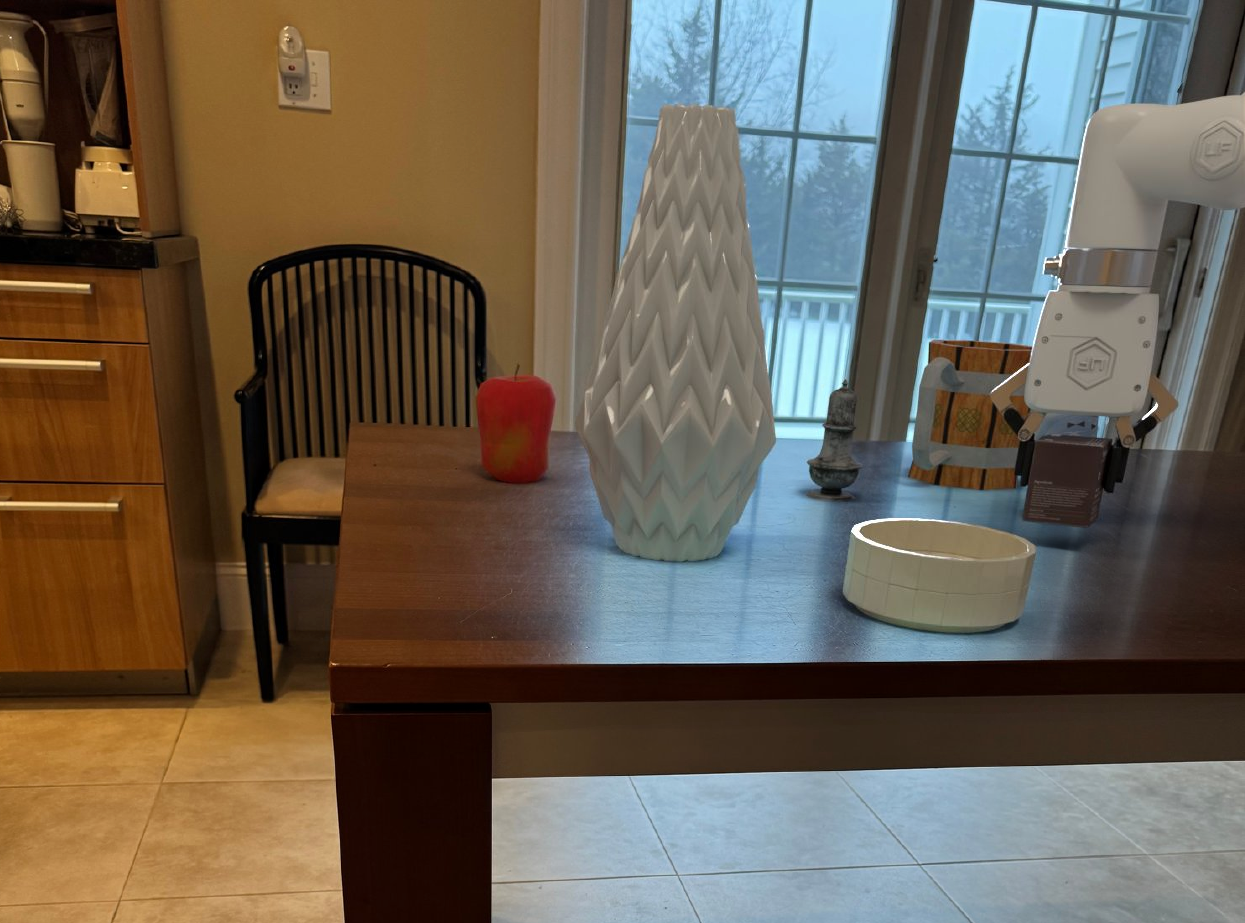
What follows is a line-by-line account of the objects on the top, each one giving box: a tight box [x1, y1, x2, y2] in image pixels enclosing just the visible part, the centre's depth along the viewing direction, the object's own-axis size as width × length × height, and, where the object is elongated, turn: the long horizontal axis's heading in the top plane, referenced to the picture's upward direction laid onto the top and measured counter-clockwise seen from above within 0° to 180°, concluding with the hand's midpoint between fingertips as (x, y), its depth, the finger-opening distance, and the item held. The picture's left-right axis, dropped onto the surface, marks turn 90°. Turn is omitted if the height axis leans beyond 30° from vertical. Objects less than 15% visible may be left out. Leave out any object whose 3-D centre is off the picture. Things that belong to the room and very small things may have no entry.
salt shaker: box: [805, 378, 863, 502], centre depth 124 cm, size 6×6×12 cm
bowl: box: [842, 517, 1037, 634], centre depth 87 cm, size 13×13×6 cm
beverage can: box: [1034, 413, 1100, 441], centre depth 120 cm, size 6×7×12 cm
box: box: [1021, 434, 1114, 529], centre depth 108 cm, size 6×6×7 cm
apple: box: [474, 363, 557, 484], centre depth 124 cm, size 9×8×12 cm
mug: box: [907, 339, 1033, 491], centre depth 135 cm, size 20×14×15 cm
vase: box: [574, 103, 777, 563], centre depth 94 cm, size 17×17×33 cm
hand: (1065, 485), depth 108 cm, fingers closed on box, 6 cm apart
